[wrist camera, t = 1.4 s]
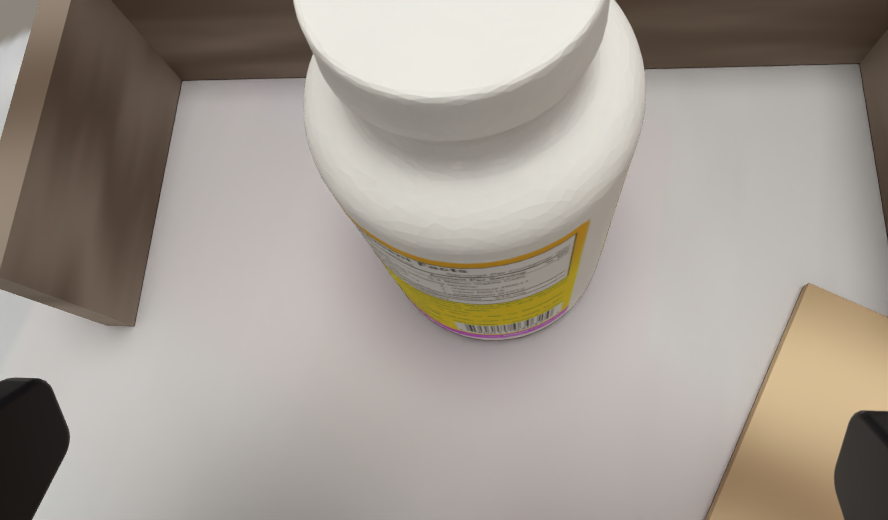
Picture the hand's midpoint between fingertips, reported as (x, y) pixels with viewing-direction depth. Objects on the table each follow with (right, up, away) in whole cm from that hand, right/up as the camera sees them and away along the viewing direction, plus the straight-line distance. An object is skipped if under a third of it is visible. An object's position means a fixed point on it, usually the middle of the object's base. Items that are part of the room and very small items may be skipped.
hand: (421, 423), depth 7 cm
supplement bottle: (+2, +2, +14) cm, 15 cm away
